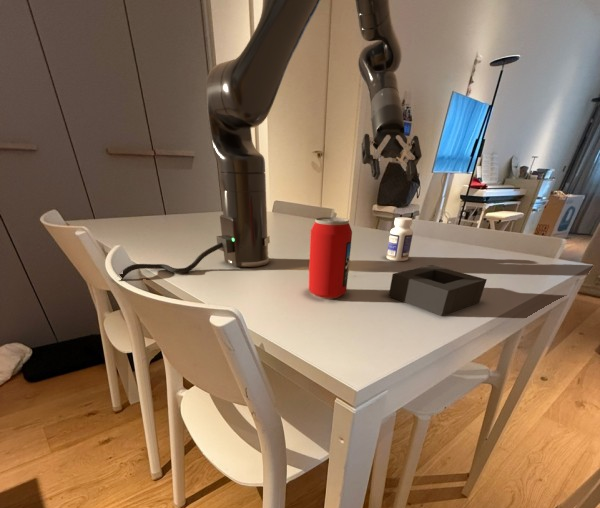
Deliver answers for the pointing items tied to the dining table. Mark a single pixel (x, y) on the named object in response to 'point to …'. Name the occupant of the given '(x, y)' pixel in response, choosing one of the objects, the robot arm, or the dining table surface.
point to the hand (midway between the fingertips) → (394, 177)
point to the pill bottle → (400, 239)
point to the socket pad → (436, 289)
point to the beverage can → (329, 257)
